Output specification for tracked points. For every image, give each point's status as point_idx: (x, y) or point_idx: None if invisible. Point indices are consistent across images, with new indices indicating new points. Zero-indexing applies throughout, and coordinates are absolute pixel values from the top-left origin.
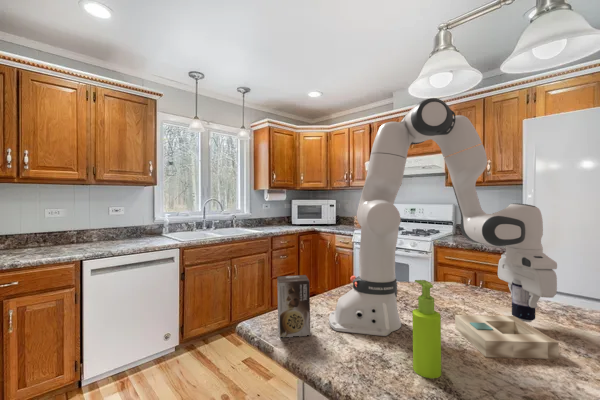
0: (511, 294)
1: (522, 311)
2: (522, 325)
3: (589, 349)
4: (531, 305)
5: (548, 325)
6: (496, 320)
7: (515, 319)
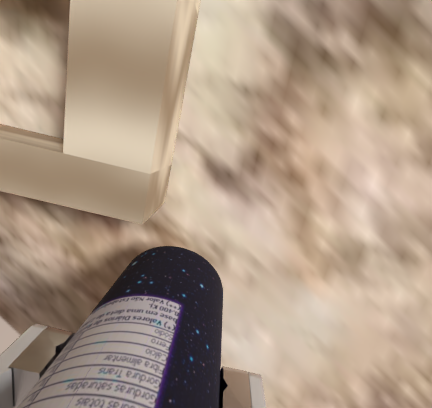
0: (256, 399)
1: (118, 281)
2: (5, 149)
3: (3, 307)
4: (25, 338)
5: None
6: (79, 39)
7: (92, 187)
